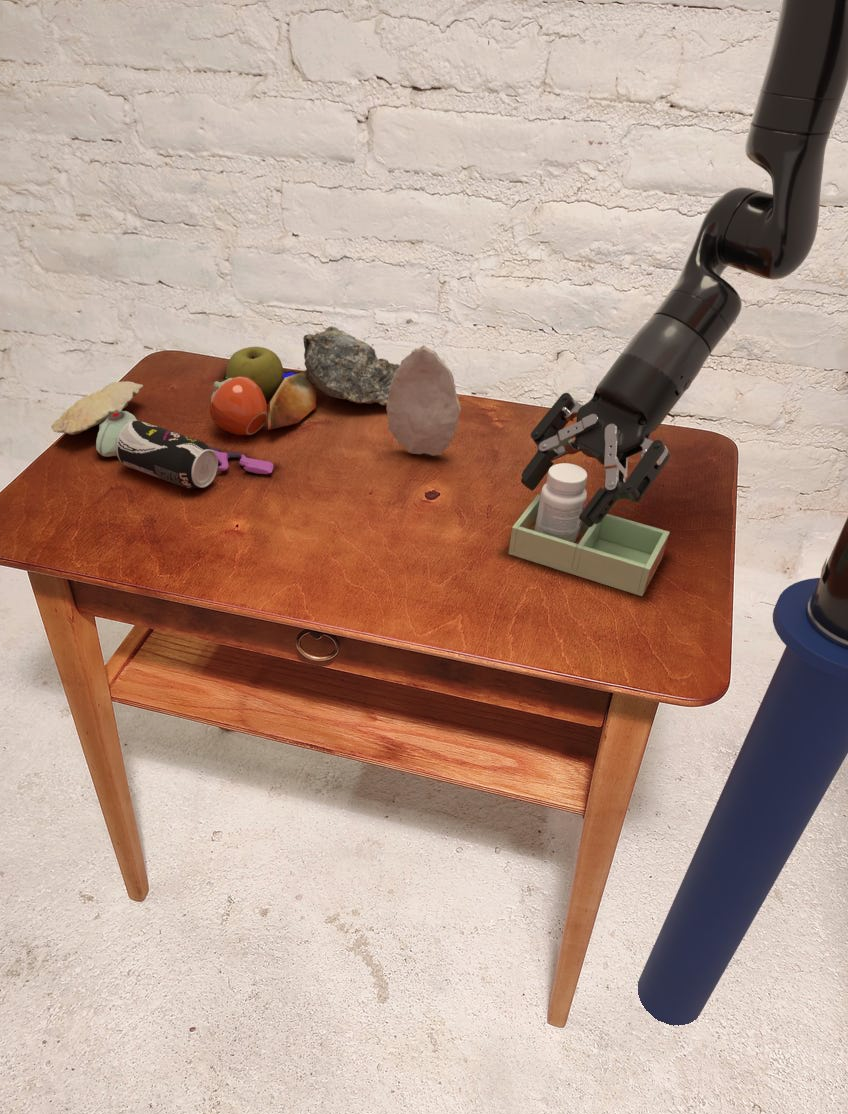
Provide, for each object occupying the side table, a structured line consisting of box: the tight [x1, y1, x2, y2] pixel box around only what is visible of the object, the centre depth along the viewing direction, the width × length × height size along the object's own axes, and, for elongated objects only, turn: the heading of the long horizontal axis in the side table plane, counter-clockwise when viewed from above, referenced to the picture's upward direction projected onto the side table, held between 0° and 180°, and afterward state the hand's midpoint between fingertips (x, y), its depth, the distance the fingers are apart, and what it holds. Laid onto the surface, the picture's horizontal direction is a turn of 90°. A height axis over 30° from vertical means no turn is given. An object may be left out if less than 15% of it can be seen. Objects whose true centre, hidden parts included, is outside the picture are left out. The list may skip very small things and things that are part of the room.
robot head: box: [95, 410, 137, 457], centre depth 109 cm, size 8×4×7 cm
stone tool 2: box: [386, 344, 462, 457], centre depth 105 cm, size 9×3×15 cm, turn 80°
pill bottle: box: [535, 462, 588, 544], centre depth 93 cm, size 5×5×8 cm
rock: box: [302, 326, 400, 406], centre depth 119 cm, size 14×10×10 cm
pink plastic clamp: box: [208, 445, 274, 475], centre depth 109 cm, size 21×1×5 cm
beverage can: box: [116, 419, 219, 490], centre depth 104 cm, size 6×6×12 cm
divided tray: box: [507, 493, 671, 597], centre depth 94 cm, size 15×8×4 cm, turn 61°
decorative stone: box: [267, 370, 317, 431], centre depth 116 cm, size 14×6×3 cm
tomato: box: [209, 376, 268, 436], centre depth 113 cm, size 7×7×8 cm
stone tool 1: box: [50, 380, 144, 436], centre depth 114 cm, size 8×4×15 cm
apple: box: [225, 346, 284, 405], centre depth 118 cm, size 8×8×7 cm
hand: (554, 504), depth 92 cm, fingers open, 8 cm apart
